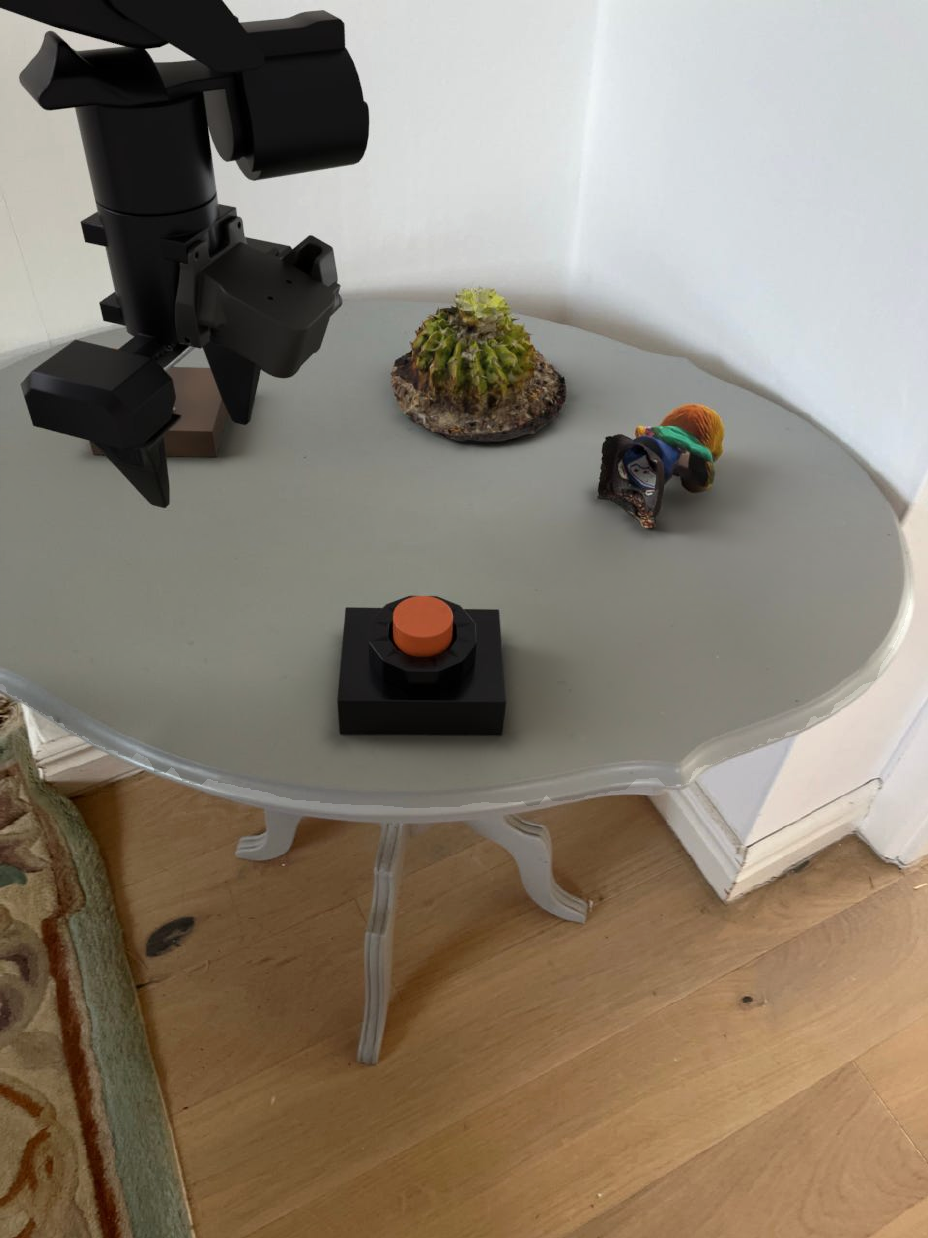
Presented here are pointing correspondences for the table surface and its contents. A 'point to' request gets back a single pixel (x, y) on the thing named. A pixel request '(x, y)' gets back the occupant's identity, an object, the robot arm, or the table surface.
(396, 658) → the button box
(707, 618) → the table surface
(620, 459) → the figurine
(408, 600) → the button
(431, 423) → the cactus
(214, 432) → the panel
